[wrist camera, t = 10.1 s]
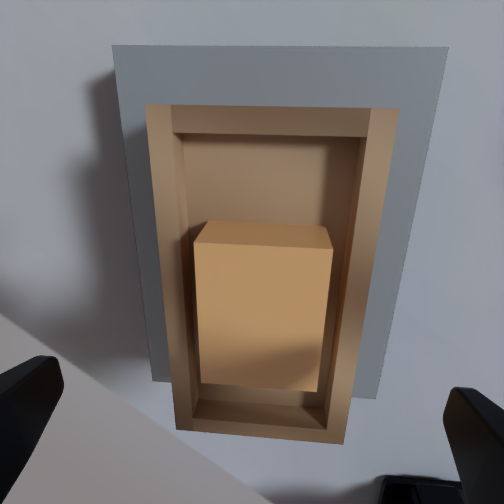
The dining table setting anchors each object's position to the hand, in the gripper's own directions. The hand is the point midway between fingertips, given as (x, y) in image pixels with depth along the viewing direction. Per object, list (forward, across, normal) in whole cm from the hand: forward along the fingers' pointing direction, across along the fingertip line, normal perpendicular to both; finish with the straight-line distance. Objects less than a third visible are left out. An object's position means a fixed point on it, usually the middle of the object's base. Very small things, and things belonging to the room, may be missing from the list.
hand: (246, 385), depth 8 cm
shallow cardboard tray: (+8, 0, 0) cm, 8 cm away
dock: (+11, 0, 0) cm, 11 cm away
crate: (+5, 0, 0) cm, 5 cm away
